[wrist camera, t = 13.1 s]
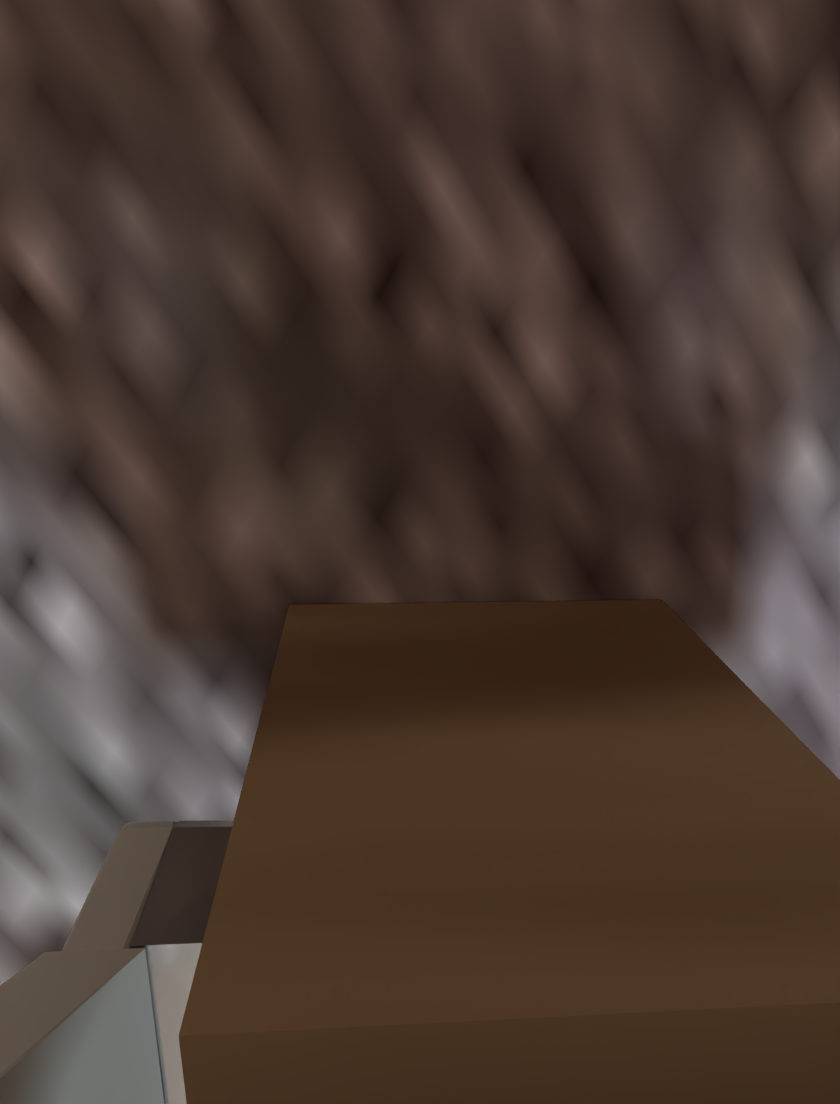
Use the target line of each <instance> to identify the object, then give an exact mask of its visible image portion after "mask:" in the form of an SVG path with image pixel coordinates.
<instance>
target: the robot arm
mask: <svg viewBox="0 0 840 1104" xmlns="http://www.w3.org/2000/svg"><path fill="white" fill-rule="evenodd" d="M233 822H234V821H179V822H174V821H163V822H129V823H127V824H126V825H125V826H124V827H123V828H121V829H120V830H119V832H118V833H117V835H116V838H115V840H114V842H113V844H112V846H111V848H110V850H109V852H108V854H107V857H106V859H105V861H104V863H103V865H102V867H101V869H100V871H99V873H98V875H97V878H96V880H95V882H94V884H93V886H92V888H91V890H90V892H89V894H88V897H87V899H86V901H85V903H84V905H83V907H82V909H81V911H80V913H79V916H78V918H77V920H76V922H75V924H74V926H73V928H72V930H71V932H70V934H69V937H68V939H67V941H66V943H65V945H64V947H63V949H62V951H56V952H44V953H43V954H41V955H40V956H39V957H38V958H36V959H35V960H34V961H32V962H31V963H30V964H28V965H27V966H26V967H24V968H23V969H22V970H21V971H19V972H18V973H17V974H15V975H14V976H13V977H11V978H10V979H9V980H7V981H6V982H5V983H3V984H2V985H1V986H0V1104H187V1103H186V1095H185V1087H184V1078H183V1070H182V1061H181V1053H180V1044H179V1032H180V1028H181V1024H182V1020H183V1017H184V1013H185V1009H186V1005H187V1001H188V997H189V993H190V989H191V985H192V982H193V978H194V974H195V970H196V966H197V962H198V958H199V954H200V950H201V947H202V943H203V939H204V935H205V931H206V927H207V923H208V919H209V915H210V911H211V908H212V904H213V900H214V896H215V892H216V888H217V884H218V880H219V876H220V873H221V869H222V865H223V861H224V857H225V853H226V849H227V845H228V841H229V837H230V834H231V830H232V826H233Z"/></svg>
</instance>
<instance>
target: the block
mask: <svg viewBox="0 0 840 1104" xmlns="http://www.w3.org/2000/svg"><path fill="white" fill-rule="evenodd" d="M179 1044H180V1053H181V1061H182V1070H183V1078H184V1087H185V1095H186V1103H187V1104H840V780H839V779H838V778H837V777H836V776H835V775H834V774H833V773H832V772H831V771H830V770H829V769H828V768H827V767H826V766H825V765H824V764H823V763H822V762H821V761H820V760H819V759H818V758H817V757H816V756H815V755H814V754H813V753H812V752H811V751H810V749H809V748H808V747H807V746H806V745H805V744H804V743H803V742H802V741H801V740H800V739H799V738H798V737H797V736H796V735H795V734H794V733H793V732H792V731H791V730H790V729H789V728H788V727H787V726H786V725H785V724H784V723H783V722H782V721H781V720H780V719H779V718H778V717H777V716H776V715H775V714H774V713H773V712H772V711H771V710H770V709H769V708H768V707H767V706H766V705H765V704H764V703H763V702H762V701H761V700H760V699H759V698H758V697H757V696H756V695H755V694H754V693H753V692H752V691H751V690H750V689H749V688H748V687H747V686H746V685H745V684H744V683H743V682H742V681H741V680H740V679H739V678H738V677H737V676H736V675H735V674H734V673H733V672H732V671H731V670H730V669H729V668H728V667H727V665H726V664H725V663H724V662H723V661H722V660H721V659H720V658H719V657H718V656H717V655H716V654H715V653H714V652H713V651H712V650H711V649H710V648H709V647H708V646H707V645H706V644H705V643H704V642H703V641H702V640H701V639H700V638H699V637H698V636H697V635H696V634H695V633H694V632H693V631H692V630H691V629H690V628H689V627H688V626H687V625H686V624H685V623H684V622H683V621H682V620H681V619H680V618H679V617H678V616H677V615H676V614H675V613H674V612H673V611H672V610H671V609H670V608H669V607H668V606H667V605H666V604H665V603H664V602H663V601H662V600H603V601H525V602H447V603H370V604H292V605H289V608H288V612H287V616H286V619H285V623H284V627H283V631H282V635H281V639H280V643H279V647H278V651H277V655H276V658H275V662H274V666H273V670H272V674H271V678H270V682H269V686H268V690H267V693H266V697H265V701H264V705H263V709H262V713H261V717H260V721H259V725H258V728H257V732H256V736H255V740H254V744H253V748H252V752H251V756H250V760H249V764H248V767H247V771H246V775H245V779H244V783H243V787H242V791H241V795H240V799H239V802H238V806H237V810H236V814H235V818H234V822H233V826H232V830H231V834H230V837H229V841H228V845H227V849H226V853H225V857H224V861H223V865H222V869H221V873H220V876H219V880H218V884H217V888H216V892H215V896H214V900H213V904H212V908H211V911H210V915H209V919H208V923H207V927H206V931H205V935H204V939H203V943H202V947H201V950H200V954H199V958H198V962H197V966H196V970H195V974H194V978H193V982H192V985H191V989H190V993H189V997H188V1001H187V1005H186V1009H185V1013H184V1017H183V1020H182V1024H181V1028H180V1032H179Z"/></svg>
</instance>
